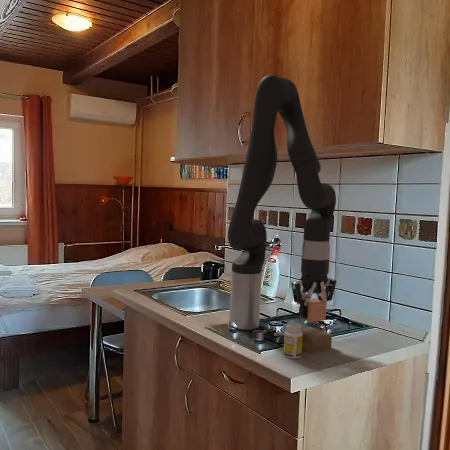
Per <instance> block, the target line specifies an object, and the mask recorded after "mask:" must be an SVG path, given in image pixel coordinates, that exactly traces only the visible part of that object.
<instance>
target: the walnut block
mask: <svg viewBox="0 0 450 450" xmlns="http://www.w3.org/2000/svg"><path fill="white" fill-rule="evenodd" d="M301 332H302V333H303V339H302V351H305V352H307V353H309V354H315V353H318V352H322V351H324V350H327V349H332V340H333V339H332V336H333V334H332V333H328V332H326V331H322V330H320V329H319V328H314V327H312V326H307V327H302V328H301Z"/></svg>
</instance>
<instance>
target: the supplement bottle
mask: <svg viewBox="0 0 450 450" xmlns="http://www.w3.org/2000/svg"><path fill="white" fill-rule="evenodd" d="M301 329H303V327H302V324H301V323H299V322H296V321H295V322H293V321H291V322H290V321H289V322H287V323H286V324H285V331H284V333H283V334H284V336H283V356H284V357H285V358H288V359H290V360H291V359H295V360H296V359H300V358H302V357H303V350H302V339H303V333H302V332H301Z"/></svg>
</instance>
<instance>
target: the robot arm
mask: <svg viewBox="0 0 450 450" xmlns="http://www.w3.org/2000/svg"><path fill="white" fill-rule="evenodd" d="M299 95H300V94H299V92H298V88H297V85H296V84H295V82H293V81H292V80H291V79H289V78H285V77H282V76H280V75H279V76H278V75H274V74H267V75H265V76H264V77H262V78H261V79H260V81H259V83H258V84H257V87H256V90H255V96H254V105H253V115H252V122H251V123H252V124H251V130H250V136H249V141H248V145H247V151H246V155H245V157H244V158H245V160H244V165H243V169H242V175H241V181H240V184H239V189H238V194H237V198H236V202H235V205H234V209H233V212H232V215H231V219H230V221H229V225H228V228H227V242H228V244H229V246H230V248H232V249H233V250H235V251H242V252H241V254H240V255H239V256H238V257H236V259H234V260H233V261H232V263H231V278H230V281H231V283H230V286H231V287H230V293H229V317H228V319H229V320H228V322H229V323H230V322H234V323H235V324H236V325H237V328H238V329H237V330H245V331H248V330H255V329H257V328H259V327H260V316H261V315H260V314H261V313H260V312H261V293H262V292H261V291H262V290H261V289H262V271H263V267H264V264H265V261H266V259H265V258H266V250H267V241H268V240H267V239H268V238H267V236H268V235H267V233H268V232H267V230H266V229H267V228H266V225H265V224H264V223H263V221H262V220H259V219H256V218H254V215H255V214H254V213H255V211H256V208H257V206H258V205H259V202H261V200H262V199H263V197H264V196H265V194H266V193H267V191H268V190H269V189H270V187H271V186H272V183H273V180H274V179H275V178H274V177H275V174H276V169H277V164H278V150H277V144H276V138H275V124H276V119H277V115H278V113H279V116H280V117H281V119H282V121H283V124H284V126H285V131H286V149H287V153H288V158H289V159H290V160H289V161H290V163H291V165H292V168H293V170H294V172H295V175H296V183H297V184H296V185H297V189H298V194H299V197H300V200H301V202H302V203H303V205H304V206H305V207H306V208H307V209H308V210H309V209H310V210H311V211H310V215H309V217H308V218H307V219H305V222H304V224H303V241H302V247H301V259H300V261H301V264H300V272H301V277H300V280H297V281H294V280H293V281H291V283H290V286H291V291H292V298H293V301H294V303H296V304H298V305H299V317H300V316H301V317H302V318H301V317H300V318H301V319H303V320H305V319H307V316H308V306H307V305H308V302H309V299H310V298H313V295H314V294H315V295H316V297H317V298H316V299H319V300H321V301H324V302H326V304H327V302H331V301H332V300H333V297H334V294H335V293H334V292H335V289H336V286H337V280H336V279H333V278H331V277H329V278H328V274H329V273H330V271H329V270H330V259H331V257H330V256H331V246H330V245H331V244H330V236H331V223H332V220H333V217H334V214H335V213H334V212H335V208H336V204H337V194H336V191H335V189H334V187H333V186H332V185H330V184H329V183H325V182H324V183H323V182H321V180H320V176H319V173H320V172H321V164H320V160H319V158H318V156H317V153H316V150H315V148H314V146H313V143H312V141H311V138H310V136H309V132H308V129H307V125H306V120H305V117H304V114H303V109H302V104H301V100H300V96H299ZM253 218H254V219H253ZM304 299H305V300H304Z"/></svg>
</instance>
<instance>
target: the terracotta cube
mask: <svg viewBox="0 0 450 450" xmlns="http://www.w3.org/2000/svg"><path fill="white" fill-rule="evenodd" d="M304 300H305V299H304ZM307 306H308V316H307V319H304V320H305V321H307V322H309V323H315V322H323V321H326V317H327V316H326V315H327V314H326V313H327V303H326V302H324V301H321V300H319V299H318V298H316V297H311V298H310V299H309V302H308V305H307ZM299 318H301V319H303V318H302V317H301V316H300V315H299Z"/></svg>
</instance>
